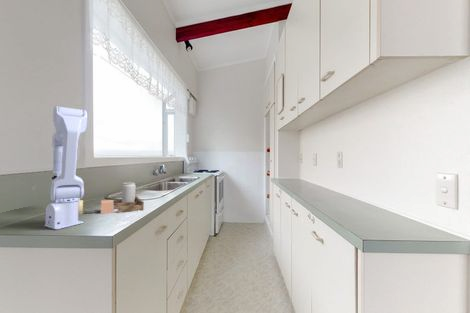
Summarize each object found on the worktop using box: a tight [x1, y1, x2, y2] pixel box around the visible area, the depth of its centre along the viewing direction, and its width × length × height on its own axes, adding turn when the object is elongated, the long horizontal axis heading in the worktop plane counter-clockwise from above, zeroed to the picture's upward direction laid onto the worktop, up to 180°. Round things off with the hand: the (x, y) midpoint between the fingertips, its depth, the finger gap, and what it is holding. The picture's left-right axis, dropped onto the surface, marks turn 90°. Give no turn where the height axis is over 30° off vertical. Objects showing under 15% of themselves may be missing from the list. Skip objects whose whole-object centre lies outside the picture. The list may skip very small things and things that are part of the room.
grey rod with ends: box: [78, 199, 115, 216], centre depth 104 cm, size 15×5×6 cm, turn 120°
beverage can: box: [121, 182, 137, 203], centre depth 120 cm, size 6×6×12 cm
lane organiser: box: [112, 195, 145, 213], centre depth 116 cm, size 11×18×4 cm, turn 35°
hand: (60, 191), depth 102 cm, fingers open, 7 cm apart
